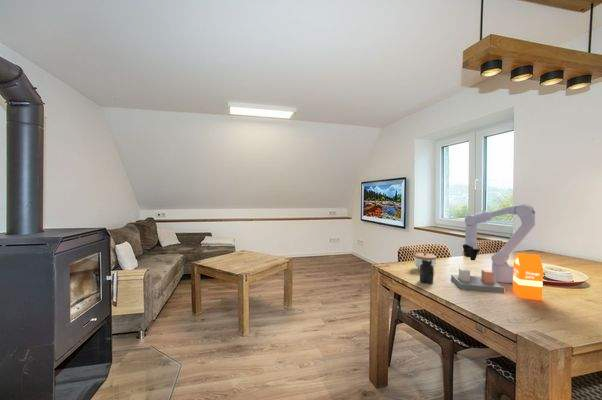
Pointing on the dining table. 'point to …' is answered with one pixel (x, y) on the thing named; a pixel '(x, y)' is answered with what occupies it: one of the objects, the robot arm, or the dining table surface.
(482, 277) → the peg
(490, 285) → the socket board
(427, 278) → the supplement bottle
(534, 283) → the orange juice
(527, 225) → the robot arm
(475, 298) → the dining table surface
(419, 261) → the lidded bowl
